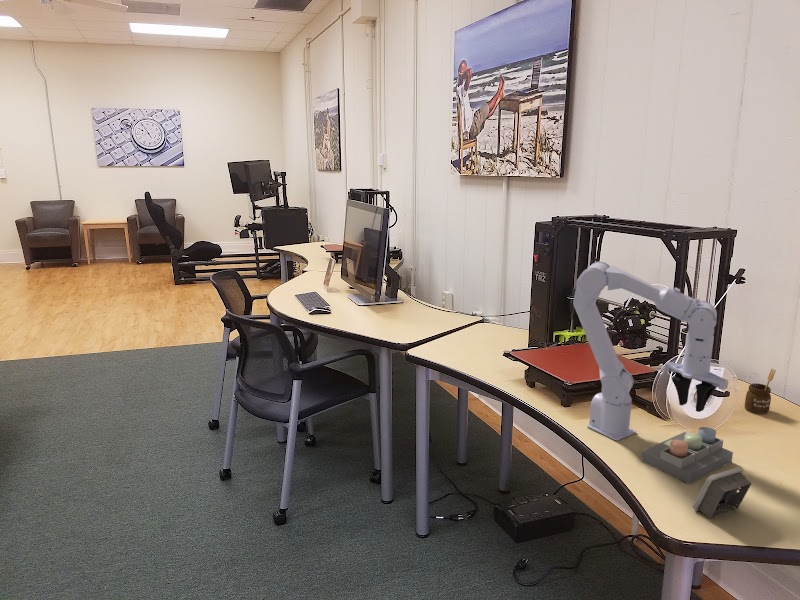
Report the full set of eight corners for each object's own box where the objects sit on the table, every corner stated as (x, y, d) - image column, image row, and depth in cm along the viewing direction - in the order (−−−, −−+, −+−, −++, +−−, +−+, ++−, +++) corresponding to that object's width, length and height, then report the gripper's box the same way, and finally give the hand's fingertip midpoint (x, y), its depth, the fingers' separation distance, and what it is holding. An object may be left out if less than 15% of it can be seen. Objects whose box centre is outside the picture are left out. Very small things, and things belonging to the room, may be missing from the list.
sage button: (680, 445, 136) (681, 435, 135) (689, 441, 137) (690, 431, 137) (695, 451, 133) (696, 442, 132) (704, 447, 134) (705, 437, 134)
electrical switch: (723, 499, 122) (733, 461, 119) (745, 514, 118) (756, 476, 115) (690, 510, 119) (699, 471, 116) (712, 526, 114) (722, 487, 111)
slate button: (694, 438, 138) (695, 429, 138) (703, 434, 140) (704, 425, 140) (709, 444, 136) (710, 435, 135) (718, 440, 137) (719, 431, 137)
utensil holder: (739, 406, 165) (745, 366, 162) (760, 405, 166) (766, 365, 163) (752, 415, 160) (759, 374, 157) (775, 414, 160) (781, 373, 157)
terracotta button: (665, 452, 133) (667, 442, 132) (675, 447, 134) (676, 438, 134) (680, 458, 130) (681, 449, 129) (690, 454, 132) (691, 444, 131)
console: (641, 460, 137) (643, 443, 136) (683, 441, 146) (685, 424, 145) (689, 484, 128) (691, 465, 126) (731, 461, 136) (734, 444, 135)
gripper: (659, 348, 141) (654, 400, 145) (718, 366, 130) (711, 422, 133) (676, 343, 145) (671, 394, 148) (736, 360, 133) (728, 415, 137)
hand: (691, 407), depth 141 cm, fingers open, 4 cm apart
